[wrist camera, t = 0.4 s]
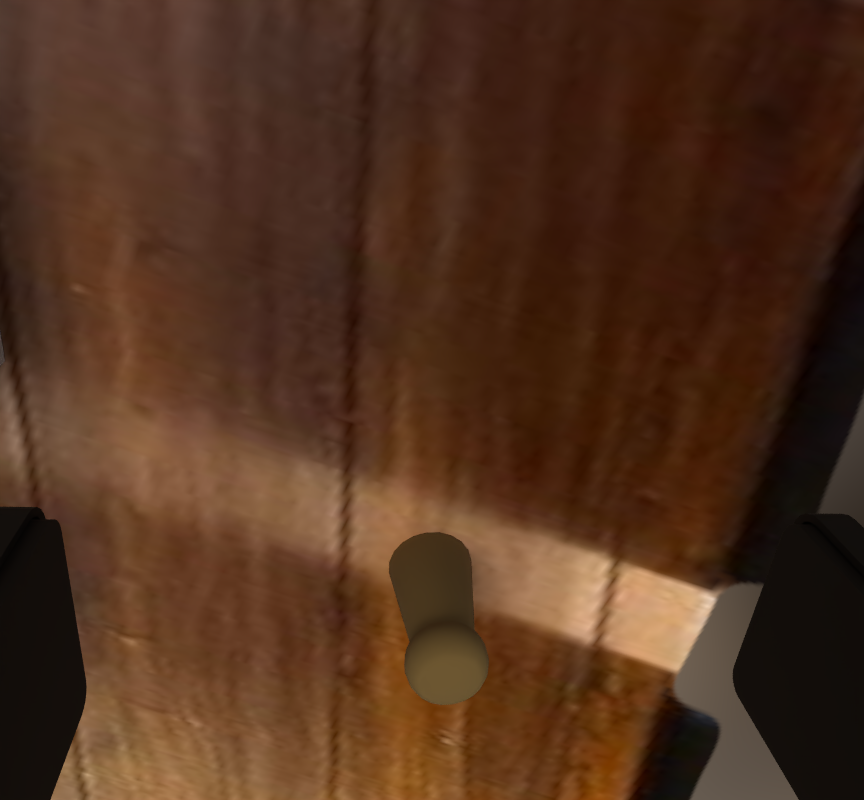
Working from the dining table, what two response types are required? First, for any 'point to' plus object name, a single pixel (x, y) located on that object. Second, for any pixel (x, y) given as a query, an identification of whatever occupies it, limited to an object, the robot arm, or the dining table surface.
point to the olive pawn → (438, 618)
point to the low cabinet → (1, 352)
